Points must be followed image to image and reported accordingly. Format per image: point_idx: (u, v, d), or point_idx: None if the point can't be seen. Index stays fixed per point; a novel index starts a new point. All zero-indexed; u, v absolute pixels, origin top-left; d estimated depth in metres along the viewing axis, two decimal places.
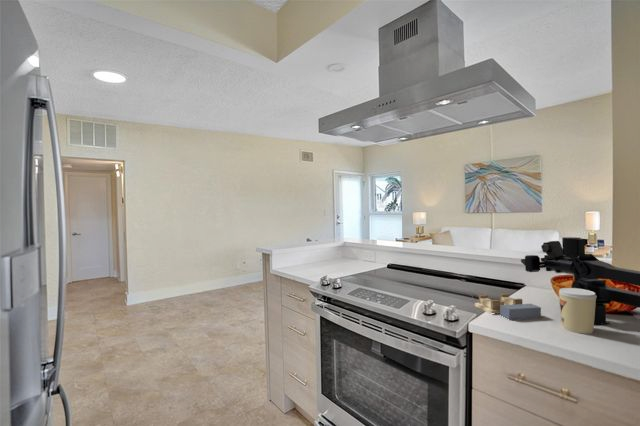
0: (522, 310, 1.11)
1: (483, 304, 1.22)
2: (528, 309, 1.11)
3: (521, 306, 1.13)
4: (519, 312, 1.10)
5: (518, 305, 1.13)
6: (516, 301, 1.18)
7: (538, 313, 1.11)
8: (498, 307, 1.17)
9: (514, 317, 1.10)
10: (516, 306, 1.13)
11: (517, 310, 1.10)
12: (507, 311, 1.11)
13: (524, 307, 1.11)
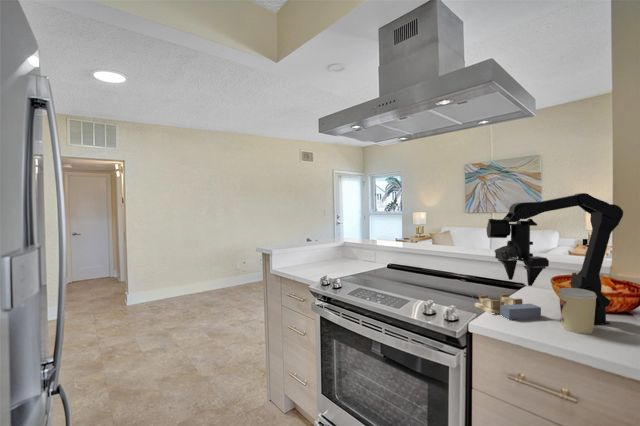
0: (522, 310, 1.11)
1: (483, 304, 1.22)
2: (528, 309, 1.11)
3: (521, 306, 1.13)
4: (519, 312, 1.10)
5: (518, 305, 1.13)
6: (516, 301, 1.18)
7: (538, 313, 1.11)
8: (498, 307, 1.17)
9: (514, 317, 1.10)
10: (516, 306, 1.13)
11: (517, 310, 1.10)
12: (507, 311, 1.11)
13: (524, 307, 1.11)
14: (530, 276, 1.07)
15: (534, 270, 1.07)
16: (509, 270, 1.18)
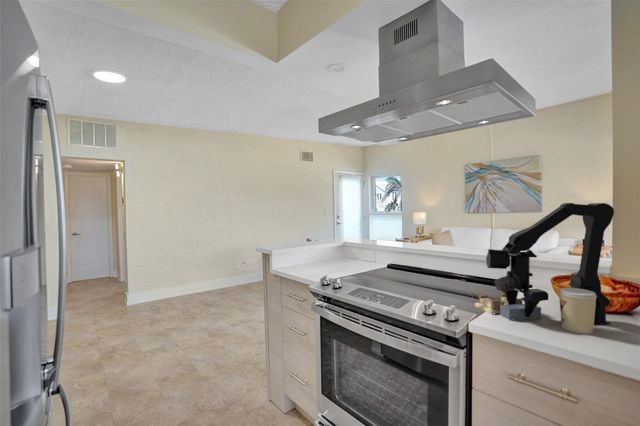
0: (522, 310, 1.11)
1: (483, 304, 1.22)
2: None
3: (521, 306, 1.13)
4: (519, 312, 1.10)
5: (518, 305, 1.13)
6: (516, 301, 1.18)
7: (538, 313, 1.11)
8: (498, 307, 1.17)
9: (514, 317, 1.10)
10: (516, 306, 1.13)
11: (517, 310, 1.10)
12: (507, 311, 1.11)
13: (524, 307, 1.11)
14: (528, 308, 1.08)
15: (531, 301, 1.08)
16: (510, 300, 1.17)
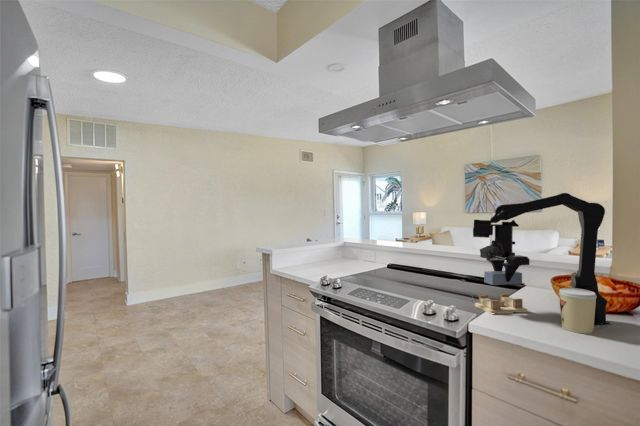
0: None
1: (483, 304, 1.22)
2: None
3: (504, 272, 1.19)
4: (501, 277, 1.17)
5: (501, 272, 1.20)
6: (516, 301, 1.18)
7: (519, 278, 1.18)
8: (498, 307, 1.17)
9: (497, 282, 1.17)
10: (499, 272, 1.19)
11: (500, 275, 1.17)
12: (490, 276, 1.17)
13: None
14: (508, 273, 1.16)
15: (511, 267, 1.16)
16: (497, 269, 1.22)
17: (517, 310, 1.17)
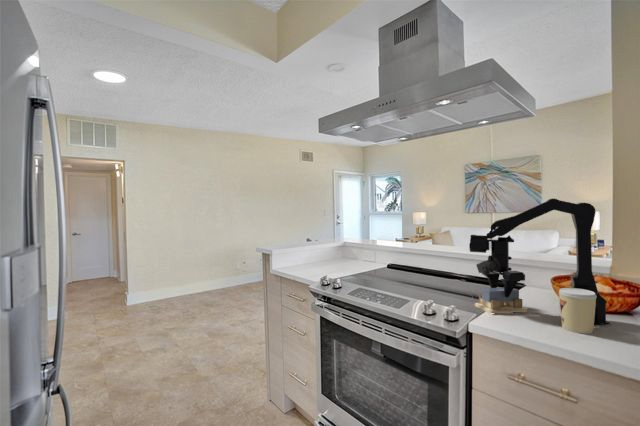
0: (501, 292, 1.19)
1: (483, 304, 1.22)
2: None
3: (501, 289, 1.21)
4: (498, 295, 1.19)
5: (498, 289, 1.22)
6: (516, 301, 1.18)
7: (516, 295, 1.20)
8: (498, 307, 1.17)
9: (494, 299, 1.19)
10: (496, 289, 1.21)
11: (497, 292, 1.19)
12: (487, 293, 1.19)
13: (503, 290, 1.20)
14: (506, 288, 1.17)
15: (510, 282, 1.17)
16: (492, 283, 1.25)
17: (517, 310, 1.17)
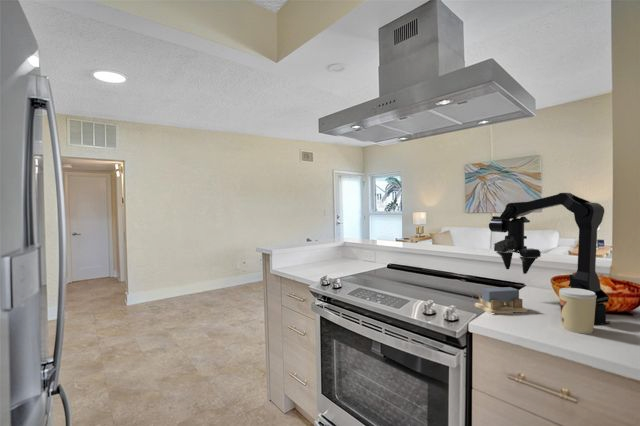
0: (501, 292, 1.19)
1: (483, 304, 1.22)
2: (507, 291, 1.20)
3: (501, 289, 1.21)
4: (498, 295, 1.19)
5: (498, 289, 1.22)
6: (516, 301, 1.18)
7: (516, 295, 1.20)
8: (498, 307, 1.17)
9: (494, 299, 1.19)
10: (496, 289, 1.21)
11: (497, 292, 1.19)
12: (487, 293, 1.19)
13: (503, 290, 1.20)
14: (525, 265, 1.25)
15: (528, 260, 1.26)
16: (506, 261, 1.36)
17: (517, 310, 1.17)
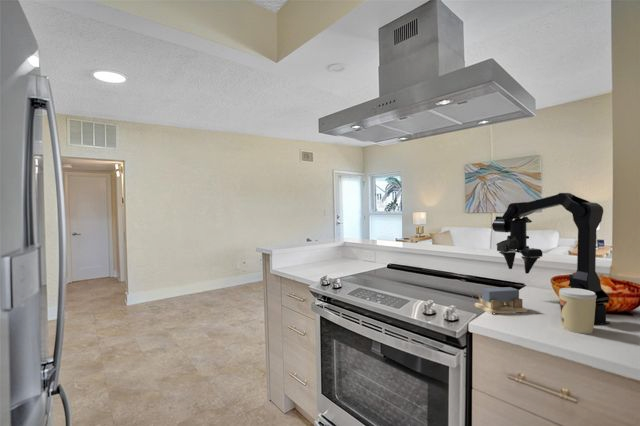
0: (501, 292, 1.19)
1: (483, 304, 1.22)
2: (507, 291, 1.20)
3: (501, 289, 1.21)
4: (498, 295, 1.19)
5: (498, 289, 1.22)
6: (516, 301, 1.18)
7: (516, 295, 1.20)
8: (498, 307, 1.17)
9: (494, 299, 1.19)
10: (496, 289, 1.21)
11: (497, 292, 1.19)
12: (487, 293, 1.19)
13: (503, 290, 1.20)
14: (527, 265, 1.26)
15: (530, 259, 1.27)
16: (509, 261, 1.37)
17: (517, 310, 1.17)
